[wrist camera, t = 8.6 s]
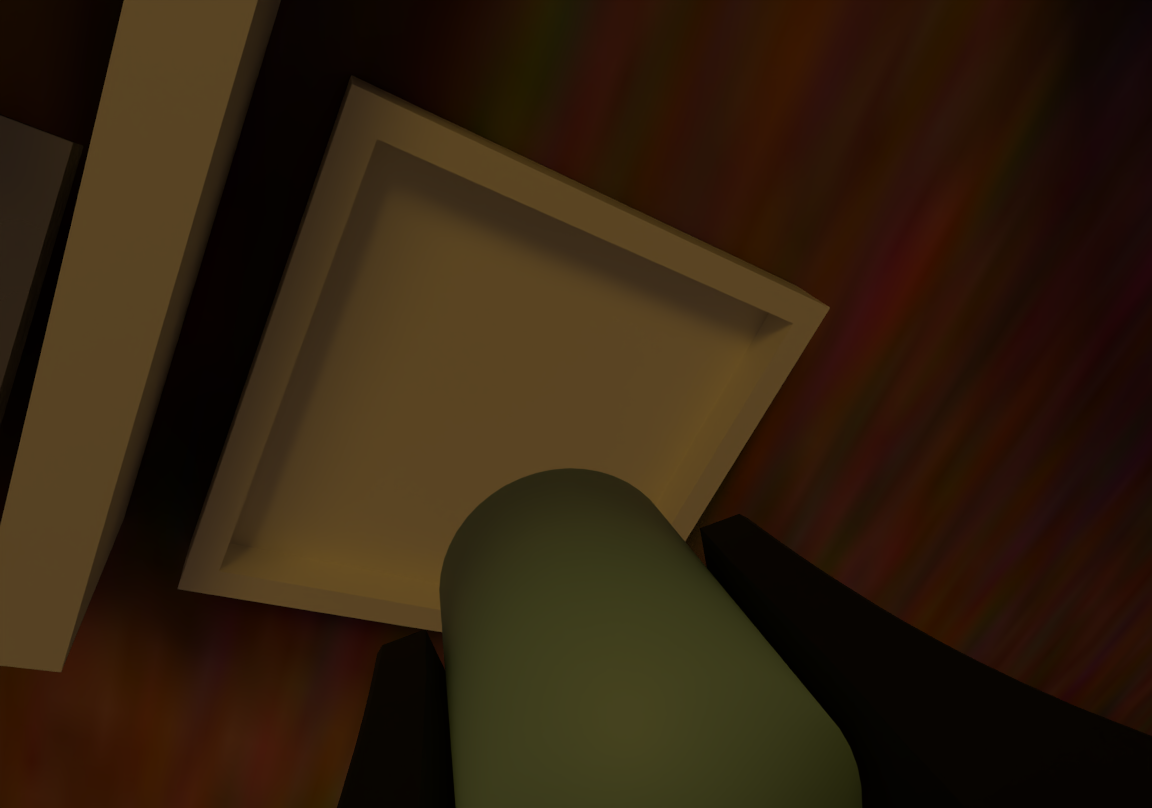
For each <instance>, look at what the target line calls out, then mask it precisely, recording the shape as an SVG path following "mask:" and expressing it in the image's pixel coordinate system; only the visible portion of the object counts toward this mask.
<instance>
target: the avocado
mask: <svg viewBox="0 0 1152 808" xmlns="http://www.w3.org/2000/svg"><path fill="white" fill-rule="evenodd" d="M439 594H440V609H441V622H442V635H443V648H444V661H445V674H446V688H447V701H448V714H449V727H450V740H451V753H452V766H453V780H454V793H455V806H456V808H862V789H861V782H860V777H859V772H858V767H857V764H856V761H855V758H854V756H853V753H852V750H851V748H850V746H849V744H848V742H847V740H846V739H845V737H844V735H843V734H842V732H841V730H840V728H839V727H838V726H837V725H836V724H835V722H834V721H833V720H832V719H831V718H830V716H829V715H828V714H827V713H826V712H825V710H824V709H823V708H822V707H821V706H820V704H819V703H818V702H817V701H816V699H815V698H814V697H813V696H812V695H811V693H810V692H809V691H808V690H807V689H806V687H805V686H804V685H803V684H802V683H801V681H800V680H799V679H798V678H797V676H796V675H795V674H794V673H793V672H792V670H791V669H790V668H789V667H788V666H787V664H786V663H785V662H784V661H783V660H782V658H781V657H780V656H779V655H778V653H777V652H776V651H775V650H774V649H773V647H772V646H771V645H770V644H769V643H768V641H767V640H766V639H765V638H764V637H763V635H762V634H761V633H760V632H759V630H758V629H757V628H756V627H755V626H754V624H753V623H752V622H751V621H750V620H749V618H748V617H747V616H746V615H745V614H744V612H743V611H742V610H741V609H740V608H739V606H738V605H737V604H736V603H735V601H734V600H733V599H732V598H731V597H730V595H729V594H728V593H727V592H726V591H725V589H724V588H723V587H722V586H721V585H720V583H719V582H718V581H717V580H716V578H715V577H714V576H713V575H712V574H711V572H710V571H709V570H708V569H707V568H706V566H705V565H704V564H703V563H702V562H701V560H700V559H699V558H698V557H697V555H696V554H695V553H694V552H693V551H692V549H691V548H690V547H689V546H688V545H687V543H686V542H685V541H684V540H683V539H682V537H681V536H680V535H679V534H678V532H677V531H676V530H675V529H674V528H673V526H672V525H671V524H670V523H669V522H668V520H667V519H666V518H665V517H664V516H663V514H662V513H661V512H660V511H659V510H658V508H657V507H656V506H655V505H654V504H653V502H652V501H651V500H650V499H649V498H648V497H647V496H645V495H644V494H643V493H642V492H641V491H640V490H638V489H637V488H635V487H634V486H632V485H631V484H629V483H628V482H626V481H623V480H621V479H619V478H617V477H615V476H612V475H609V474H606V473H603V472H599V471H594V470H588V469H576V468H565V469H553V470H548V471H543V472H538V473H534V474H531V475H528V476H526V477H523V478H520V479H518V480H516V481H514V482H512V483H510V484H507V485H505V486H504V487H502V488H501V489H499V490H498V491H496V492H494V493H493V494H491V495H490V496H489V497H488V498H486V499H485V500H484V501H483V502H482V503H480V504H479V505H478V506H477V507H476V508H475V509H474V510H473V511H472V512H471V514H470V515H469V516H468V517H467V518H466V519H465V521H464V522H463V523H462V525H461V526H460V528H459V529H458V530H457V532H456V534H455V536H454V538H453V539H452V541H451V543H450V545H449V548H448V550H447V553H446V555H445V558H444V561H443V566H442V570H441V575H440V587H439Z"/></svg>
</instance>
